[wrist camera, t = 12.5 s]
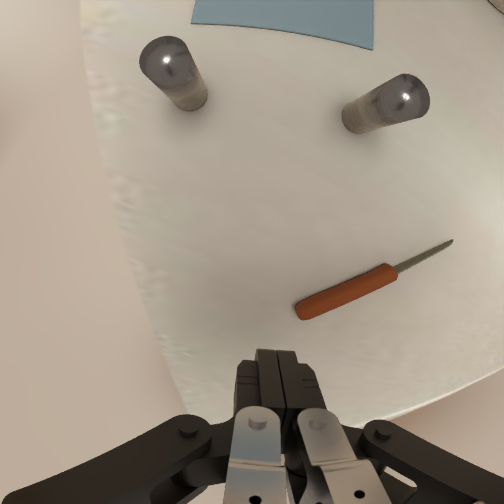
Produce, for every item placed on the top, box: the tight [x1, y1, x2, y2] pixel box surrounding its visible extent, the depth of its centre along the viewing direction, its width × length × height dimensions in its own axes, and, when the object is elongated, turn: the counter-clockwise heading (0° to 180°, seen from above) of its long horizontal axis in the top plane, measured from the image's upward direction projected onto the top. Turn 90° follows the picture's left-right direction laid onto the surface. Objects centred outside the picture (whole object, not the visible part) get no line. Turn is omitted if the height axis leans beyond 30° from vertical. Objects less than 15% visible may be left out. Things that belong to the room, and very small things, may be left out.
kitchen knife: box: [295, 239, 453, 320], centre depth 25 cm, size 16×1×2 cm, turn 113°
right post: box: [342, 74, 430, 133], centre depth 19 cm, size 3×3×9 cm
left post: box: [139, 36, 207, 111], centre depth 18 cm, size 3×3×9 cm
